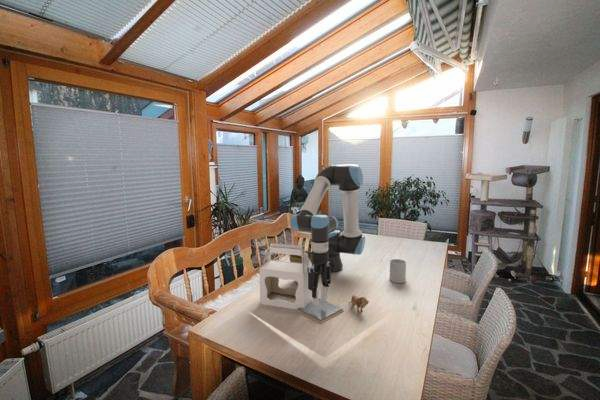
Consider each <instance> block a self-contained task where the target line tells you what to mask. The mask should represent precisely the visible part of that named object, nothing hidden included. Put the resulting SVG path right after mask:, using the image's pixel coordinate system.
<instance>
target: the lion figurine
mask: <svg viewBox="0 0 600 400" xmlns="http://www.w3.org/2000/svg"><path fill="white" fill-rule="evenodd" d="M348 304H351V305H350V309H354V306H356V310H357V312H356V313H357V314H360V313H363V312H364V310H363V309H364V308H366V306H367V305H368V304H369V300H367V297H365V296H363V297H358V296H357V295H355V294H353V295H351V301H349V302H348Z"/></svg>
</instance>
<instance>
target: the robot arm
mask: <svg viewBox="0 0 600 400" xmlns="http://www.w3.org/2000/svg"><path fill="white" fill-rule="evenodd" d="M363 181H364V176H363V171H362V168H361V167H360V165H358V164H352V163H351V164H330V165H328V166H326V167H324V168H323V169H322V170H320V171H319V172H318V173H317V174H316V176H315V178H314V180H313V182H314V183H313V186H312V188H311V190H310V192H309V194H308V196H307V197H306V199H305V200H304V203H303V205H302V207H301V209H300V211H299V213H298V214H297V213H296V214H293V215H291V217H290V219H289V226H290V228H291V229H292V230H294V231H302V232H311V233H310V236H311V237H310V238H311V239H310V241H311V242H310V245H311V246H310V249H311V251H310V252H311V259H312V261H313V263H312V266H311V267H310V268H309V267H308V268H307V271H308V289H309V290H311V291H312V301H313V304H314V305H317V306H318V299H319V290H318V288H319V287H318V286H319V280H320V277H321V284H322V285H321V286H320V299H321V300H323V301H325V302H328V301H327V300H328V298H327V297H328V288H329V287H330V285H331V282H332V280H331V279H332V275H331V274H332V273H331V272H338V271H342V269H343V265H344V264H343V261H342V259H341V253H342V254H349V255H353V256H354V255H357V256H358V255H361V254H363V252H364V248H365V244H366V236H365V235H363V232H362V230H360V225H359V223H360V222H359V204H358V203H359V202H358V191H359V190H360V189H361V186H363V184H364V182H363ZM331 186H335V187H336V186H338V190H339V191H340V192H341V198H342V199H341V201H342V215H343V216H342V217H343V228H344V229H343V230H342V232H341V230H338V227H339V221H338V219H337V217H335V216H334V215H325V214H316V213H317V212H318V210H319V207H320V205H321V203H322V201H323V198H324V197H325V194H326V192H327V191H328V190H329V189H330V187H331Z"/></svg>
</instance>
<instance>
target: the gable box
mask: <svg viewBox="0 0 600 400" xmlns="http://www.w3.org/2000/svg"><path fill="white" fill-rule="evenodd" d="M303 251H304V247H303V245H298V244H285V243H274V242H272V243H270V245H269V246H268V249H266V248H265V249H264V257H263V260H262V262H261V264H260V267H259V269H258V271H259V273H258V274H259V304H260V305H265V306H271V307H279V308H284V309H290V310H296V309H298V308H299V307H301V308H304V307H305V306H306V304H308V303H310V302H312V301H313V298H312V291H311V290H309V289H308V271H307V268H308V267H309V268H310V267H311V266H312V263H311V261H310V260H309V258H308V253H306V252H303ZM272 254H281V255H289V254H290V255H299V256H300V255H301V257H302V263H295V262H290V261H285V260H273V259H272ZM280 280H284V281H285V280H293V281H295V282H296V281H297V282H298V283H297V288H294V287H287V288H286V287H284V288H282V287H280V286H279V283H280ZM272 293H277V294H280V295H288V296H294V297H295V301H293V302H291V301H288V300H286V299H282V298H274V299H270V298H269V297H268V296H270V294H272Z"/></svg>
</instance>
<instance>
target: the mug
mask: <svg viewBox="0 0 600 400" xmlns="http://www.w3.org/2000/svg"><path fill="white" fill-rule="evenodd" d="M406 272H407V262H406V260H404V259H399V258H397V259H396V258H393V259H391V260H389V281H390V282H392V283H394V284H395V283H396V284H404V283H406V278H407V277H406V275H407V273H406Z"/></svg>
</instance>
